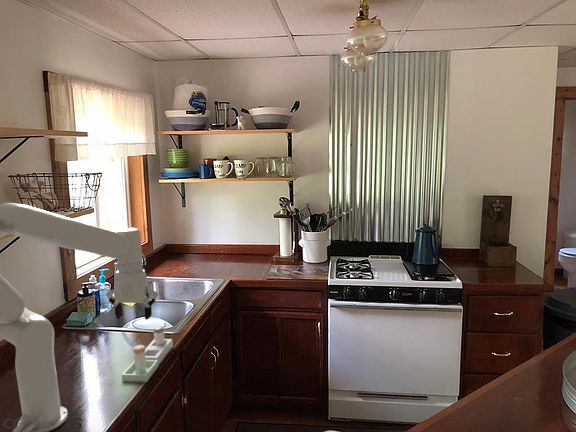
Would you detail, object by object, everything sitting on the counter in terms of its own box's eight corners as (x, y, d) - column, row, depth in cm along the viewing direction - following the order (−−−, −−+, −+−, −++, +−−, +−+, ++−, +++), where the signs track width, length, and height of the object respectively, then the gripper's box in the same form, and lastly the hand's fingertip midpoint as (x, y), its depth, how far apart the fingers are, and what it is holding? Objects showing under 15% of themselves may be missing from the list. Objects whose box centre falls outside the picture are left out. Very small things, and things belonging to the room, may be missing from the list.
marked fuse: (144, 375, 153) (142, 350, 152) (133, 375, 154) (131, 349, 152) (148, 370, 157) (146, 345, 156) (138, 369, 157) (136, 344, 156)
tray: (146, 382, 150) (145, 375, 150) (122, 381, 151) (121, 374, 150) (158, 366, 160) (157, 360, 160) (135, 366, 161) (135, 359, 160)
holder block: (157, 365, 161) (157, 357, 160) (138, 365, 162) (137, 357, 161) (172, 346, 176) (172, 339, 175) (155, 346, 176) (154, 338, 176)
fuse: (163, 352, 171) (161, 329, 169) (153, 352, 171) (151, 329, 169) (167, 348, 174) (165, 325, 173) (157, 348, 175) (155, 325, 173)
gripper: (98, 269, 146) (102, 321, 149) (151, 270, 145) (154, 322, 147) (110, 263, 154) (114, 313, 156) (160, 264, 152) (163, 314, 154)
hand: (133, 317), depth 152 cm, fingers open, 9 cm apart
